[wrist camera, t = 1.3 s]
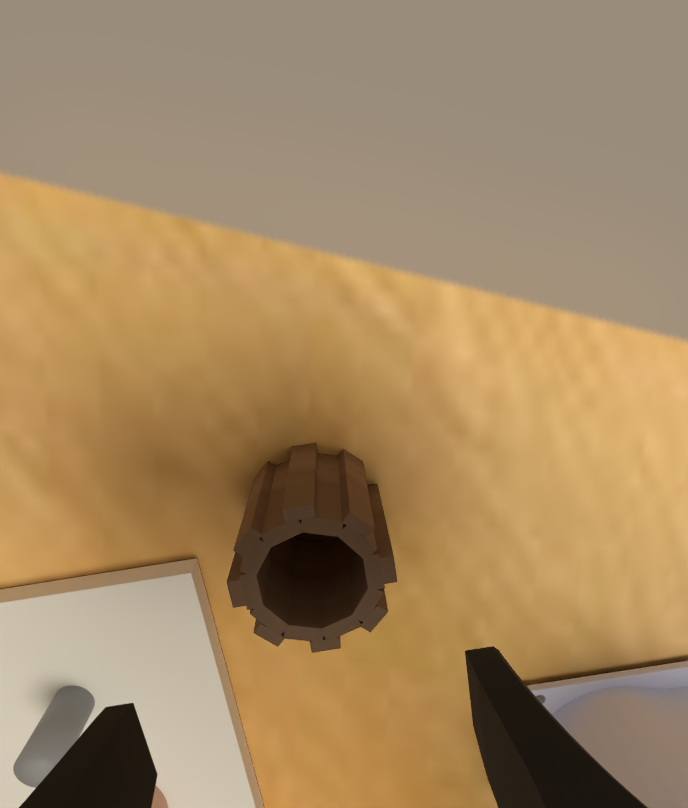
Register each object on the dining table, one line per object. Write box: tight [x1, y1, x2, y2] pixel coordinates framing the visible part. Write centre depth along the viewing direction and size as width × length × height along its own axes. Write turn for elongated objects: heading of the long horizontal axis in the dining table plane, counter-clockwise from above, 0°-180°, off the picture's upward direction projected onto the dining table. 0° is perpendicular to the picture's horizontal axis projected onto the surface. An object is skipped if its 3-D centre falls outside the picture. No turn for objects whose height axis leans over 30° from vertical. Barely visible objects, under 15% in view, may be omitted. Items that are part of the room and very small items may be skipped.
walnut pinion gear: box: [227, 443, 397, 653], centre depth 18 cm, size 5×5×5 cm
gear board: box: [0, 558, 264, 808], centre depth 22 cm, size 12×15×4 cm
